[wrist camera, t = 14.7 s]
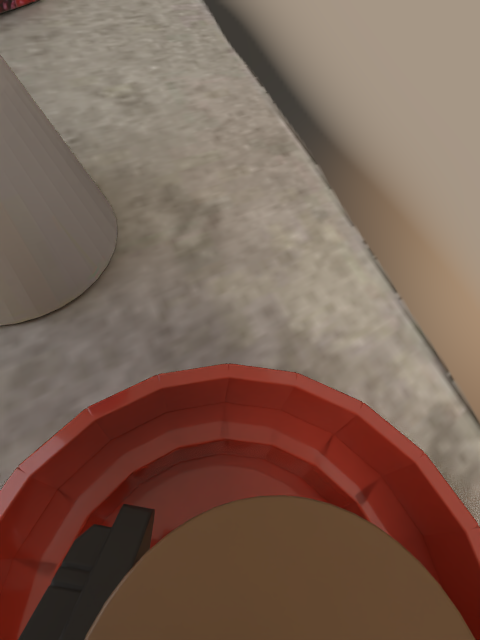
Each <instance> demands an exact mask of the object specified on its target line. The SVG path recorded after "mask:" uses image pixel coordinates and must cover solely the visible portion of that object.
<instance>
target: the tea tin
mask: <svg viewBox="0 0 480 640" xmlns="http://www.w3.org/2000/svg"><path fill="white" fill-rule="evenodd" d="M84 640H475V638H474V636H473V634H472V633H471V631H470V629H469V628H468V626H467V624H466V622H465V621H464V619H463V617H462V616H461V614H460V612H459V611H458V609H457V608H456V606H455V605H454V604H453V602H452V601H451V599H450V598H449V597H448V595H447V594H446V592H445V591H444V590H443V588H442V587H441V585H440V584H439V583H438V582H437V581H436V580H435V578H434V577H433V576H432V575H431V574H430V573H429V572H428V570H427V569H426V568H425V567H424V566H423V565H422V564H421V562H420V561H419V560H417V559H416V558H415V557H414V556H413V555H412V554H411V553H410V552H409V551H408V550H407V549H406V548H405V547H403V546H402V545H401V544H400V543H399V542H398V541H396V540H395V539H394V538H392V537H391V536H390V535H388V534H387V533H386V532H384V531H383V530H382V529H380V528H379V527H377V526H376V525H374V524H372V523H371V522H369V521H367V520H365V519H364V518H362V517H360V516H358V515H356V514H355V513H352V512H350V511H347V510H345V509H343V508H340V507H338V506H335V505H333V504H330V503H326V502H322V501H318V500H314V499H310V498H305V497H296V496H287V495H272V496H257V497H251V498H245V499H240V500H235V501H232V502H229V503H226V504H223V505H220V506H217V507H214V508H212V509H210V510H208V511H206V512H203V513H201V514H199V515H197V516H195V517H193V518H191V519H189V520H188V521H186V522H185V523H183V524H182V525H180V526H179V527H177V528H176V529H174V530H173V531H171V532H170V533H168V534H167V535H166V536H165V537H164V538H162V539H161V540H160V541H159V542H158V543H157V544H155V545H154V546H153V547H152V548H151V549H150V550H148V551H147V552H146V553H145V554H144V555H143V556H142V557H141V559H140V560H139V561H138V562H137V563H136V564H135V565H134V566H133V567H132V568H131V569H130V571H129V572H128V573H127V574H126V575H125V576H124V577H123V579H122V580H121V582H120V583H119V584H118V586H117V587H116V588H115V590H114V591H113V592H112V594H111V595H110V597H109V598H108V599H107V601H106V602H105V604H104V605H103V607H102V609H101V611H100V612H99V614H98V616H97V617H96V619H95V621H94V623H93V624H92V626H91V628H90V629H89V631H88V633H87V635H86V637H85V639H84Z"/></svg>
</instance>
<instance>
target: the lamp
mask: <svg viewBox="0 0 480 640" xmlns="http://www.w3.org/2000/svg"><path fill="white" fill-rule="evenodd" d="M117 234H118V233H117V221H116V217H115V214H114V212H113V209H112V206H111V205H110V203H109V202H108V200H107V199H106V198H105V196H104V195H103V193H102V192H101V191H100V189H99V188H98V187H97V185H96V184H95V182H94V181H93V180H92V178H91V177H90V176H89V174H88V173H87V172H86V170H85V169H84V168H83V166H82V165H81V163H80V162H79V161H78V159H77V158H76V157H75V155H74V154H73V153H72V151H71V150H70V149H69V147H68V146H67V144H66V143H65V142H64V140H63V139H62V138H61V136H60V135H59V134H58V132H57V131H56V130H55V128H54V127H53V125H52V124H51V123H50V121H49V120H48V119H47V117H46V116H45V115H44V113H43V112H42V110H41V109H40V108H39V106H38V105H37V104H36V102H35V101H34V100H33V98H32V97H31V96H30V94H29V93H28V91H27V90H26V89H25V87H24V86H23V85H22V83H21V82H20V81H19V79H18V78H17V77H16V75H15V74H14V72H13V71H12V70H11V68H10V67H9V66H8V64H7V63H6V62H5V60H4V59H3V58H2V56H1V55H0V325H8V324H16V323H20V322H23V321H27V320H30V319H34V318H37V317H41V316H43V315H45V314H47V313H49V312H52V311H54V310H56V309H58V308H61V307H63V306H64V305H66V304H67V303H69V302H70V301H72V300H73V299H75V298H76V297H78V296H79V295H81V294H82V293H83V292H84V291H85V290H86V289H87V288H89V287H90V286H91V285H92V284H93V283H94V282H95V281H96V280H97V279H98V277H99V276H100V275H101V273H102V272H103V271H104V269H105V268H106V267H107V265H108V263H109V261H110V259H111V257H112V254H113V252H114V250H115V245H116V240H117Z"/></svg>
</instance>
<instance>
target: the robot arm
mask: <svg viewBox="0 0 480 640" xmlns="http://www.w3.org/2000/svg"><path fill="white" fill-rule="evenodd" d="M154 516H155V509H150V508H145V507H140V506H134V505H129V504H123V505H122V507H121V509H120V511H119V513H118V515H117V517H116V519H115V521H114V524H113V526H112V527H108V526H102V525H97V524H93V525H92V526H91V527H90V528H89V529H88V530H86V531H85V532H84V533H83V534H82V535H80V536H79V537H78V538H77V539H76V540H75V541H74V542H73V544H72V546H71V548H70V549H69V551H68V553H67V555H66V556H65V558H64V560H63V562H62V565H61V567H59V569H58V570H57V572H56V574H55V576H54V577H53V579H52V581H51V584H50V586H48V588H47V590H46V591H45V593H44V595H43V597H42V598H41V600H40V602H39V604H38V605H37V607H36V609H35V611H34V612H33V614H32V616H31V618H30V619H29V621H28V623H27V625H26V626H25V628H24V630H23V632H22V633H21V635H20V637H19V639H18V640H84V639H85V637H86V635H87V633H88V631H89V629H90V628H91V626H92V624H93V623H94V621H95V619H96V617H97V616H98V614H99V612H100V611H101V609H102V607H103V605H104V604H105V602H106V601H107V599H108V598H109V597H110V595H111V594H112V592H113V591H114V590H115V588H116V587H117V586H118V584H119V583H120V582H121V580H122V579H123V577H124V576H125V575H126V574H127V573H128V572H129V571H130V569H131V568H132V567H133V566H134V565H135V564H136V563H137V562H138V561H139V560H140V559H141V557H142V556H143V555H144V554H145V553H146V552H147V551H148V550H150V543H151V536H152V530H153V523H154Z"/></svg>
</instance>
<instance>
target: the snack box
mask: <svg viewBox="0 0 480 640" xmlns="http://www.w3.org/2000/svg"><path fill="white" fill-rule="evenodd" d="M36 1H38V0H0V13H3V12H6V11H9V10H12V9H15V8H18V7H21V6H24V5H27V4H30V3H33V2H36Z"/></svg>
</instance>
